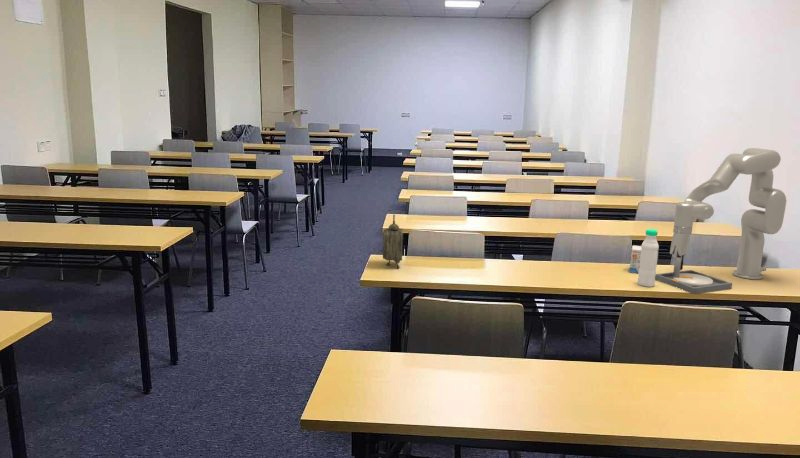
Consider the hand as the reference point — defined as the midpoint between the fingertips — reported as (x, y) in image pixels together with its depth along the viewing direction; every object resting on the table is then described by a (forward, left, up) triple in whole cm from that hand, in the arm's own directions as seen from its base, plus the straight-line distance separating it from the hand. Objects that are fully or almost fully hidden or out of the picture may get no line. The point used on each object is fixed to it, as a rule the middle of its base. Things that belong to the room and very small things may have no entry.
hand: (678, 269), depth 275 cm
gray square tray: (-2, +7, -5) cm, 9 cm away
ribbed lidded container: (+114, -64, -5) cm, 131 cm away
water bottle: (+19, +1, -5) cm, 20 cm away
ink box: (+6, -17, -5) cm, 19 cm away
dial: (-2, +7, -4) cm, 8 cm away
